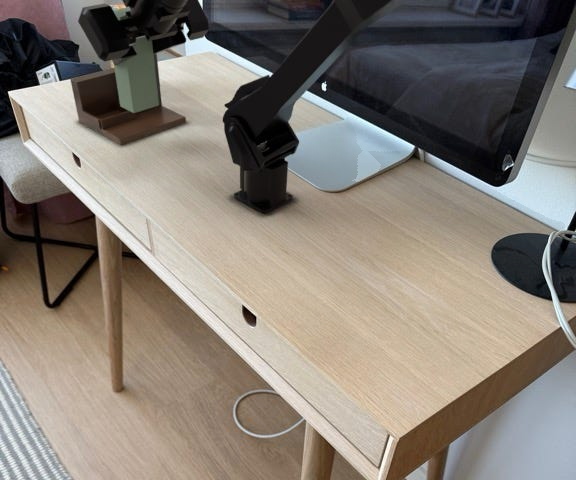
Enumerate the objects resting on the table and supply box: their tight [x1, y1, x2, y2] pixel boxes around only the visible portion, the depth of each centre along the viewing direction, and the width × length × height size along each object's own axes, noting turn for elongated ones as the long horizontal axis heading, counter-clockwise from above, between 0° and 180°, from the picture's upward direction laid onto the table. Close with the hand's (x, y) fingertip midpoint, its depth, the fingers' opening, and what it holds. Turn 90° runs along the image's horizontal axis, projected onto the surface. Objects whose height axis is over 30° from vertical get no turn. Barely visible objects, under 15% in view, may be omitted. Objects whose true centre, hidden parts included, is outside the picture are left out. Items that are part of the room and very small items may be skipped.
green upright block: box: [113, 7, 159, 113], centre depth 86 cm, size 4×5×13 cm
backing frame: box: [69, 53, 187, 146], centre depth 95 cm, size 12×14×14 cm
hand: (128, 58), depth 86 cm, fingers closed on green upright block, 5 cm apart
